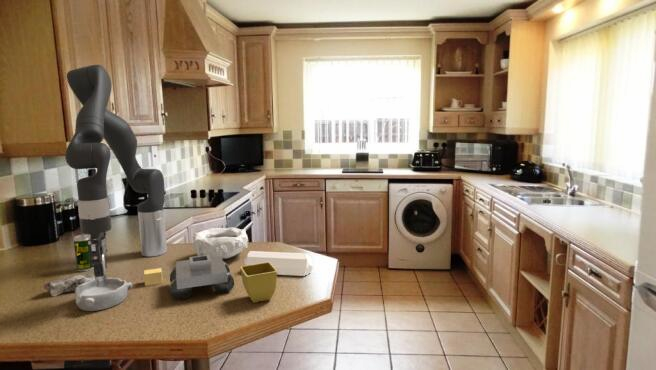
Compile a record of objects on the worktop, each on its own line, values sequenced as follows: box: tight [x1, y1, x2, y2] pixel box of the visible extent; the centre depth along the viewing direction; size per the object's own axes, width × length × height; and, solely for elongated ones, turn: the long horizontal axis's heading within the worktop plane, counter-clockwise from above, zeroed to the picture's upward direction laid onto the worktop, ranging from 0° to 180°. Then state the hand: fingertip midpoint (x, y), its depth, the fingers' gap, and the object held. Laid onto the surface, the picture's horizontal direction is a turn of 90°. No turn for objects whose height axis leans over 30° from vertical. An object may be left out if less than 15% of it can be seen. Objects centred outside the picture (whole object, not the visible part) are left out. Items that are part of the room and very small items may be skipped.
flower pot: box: [239, 262, 278, 304], centre depth 117 cm, size 9×9×9 cm
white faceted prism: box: [243, 250, 314, 277], centre depth 138 cm, size 7×7×24 cm
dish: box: [74, 277, 133, 312], centre depth 118 cm, size 14×14×5 cm
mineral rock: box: [43, 273, 95, 297], centre depth 127 cm, size 15×8×4 cm, turn 120°
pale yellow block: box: [143, 267, 163, 287], centre depth 131 cm, size 4×5×4 cm
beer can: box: [73, 234, 94, 273], centre depth 143 cm, size 5×5×12 cm
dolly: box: [169, 255, 235, 301], centre depth 125 cm, size 16×18×10 cm
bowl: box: [192, 226, 250, 260], centre depth 154 cm, size 21×20×10 cm
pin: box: [95, 247, 107, 287], centre depth 116 cm, size 4×4×11 cm
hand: (100, 272), depth 117 cm, fingers open, 5 cm apart
